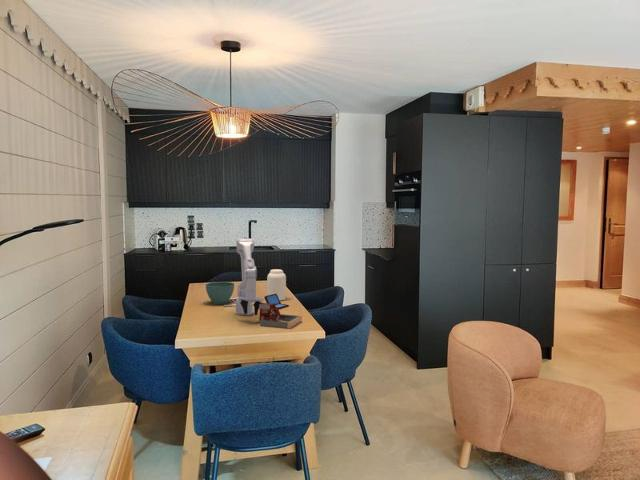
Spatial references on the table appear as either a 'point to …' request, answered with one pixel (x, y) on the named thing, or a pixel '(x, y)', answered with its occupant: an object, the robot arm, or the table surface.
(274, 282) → the white ceramic jar
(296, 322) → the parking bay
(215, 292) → the plant pot
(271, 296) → the handheld game console
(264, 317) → the toy fire truck
